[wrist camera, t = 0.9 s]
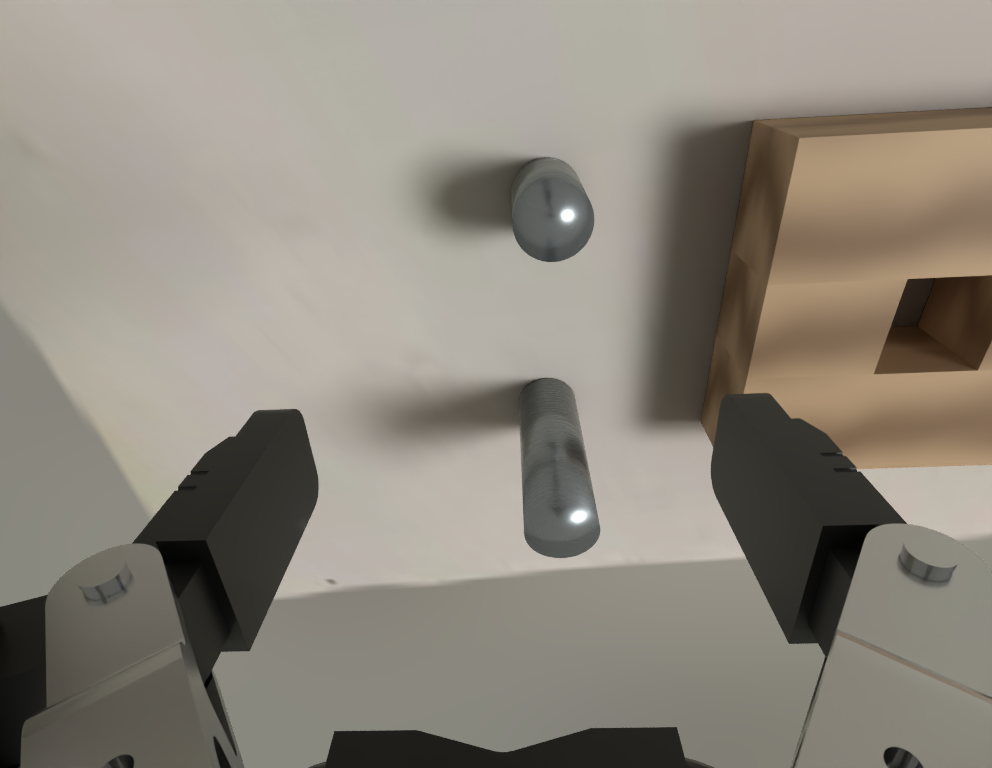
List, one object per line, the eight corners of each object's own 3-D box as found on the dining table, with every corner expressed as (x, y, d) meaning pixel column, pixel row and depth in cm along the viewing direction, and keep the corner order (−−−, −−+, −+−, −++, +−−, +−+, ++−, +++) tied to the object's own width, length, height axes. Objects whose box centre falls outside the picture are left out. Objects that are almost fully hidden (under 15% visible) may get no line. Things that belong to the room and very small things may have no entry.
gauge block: (753, 120, 27) (799, 138, 23) (1142, 98, 27) (1263, 113, 22) (700, 421, 37) (726, 473, 33) (985, 411, 36) (1048, 462, 32)
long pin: (517, 379, 35) (523, 505, 26) (575, 376, 35) (601, 503, 26) (519, 425, 37) (525, 558, 28) (574, 423, 37) (598, 556, 28)
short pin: (509, 159, 28) (511, 182, 24) (581, 155, 28) (595, 178, 24) (512, 230, 30) (514, 263, 26) (579, 226, 30) (592, 260, 26)
